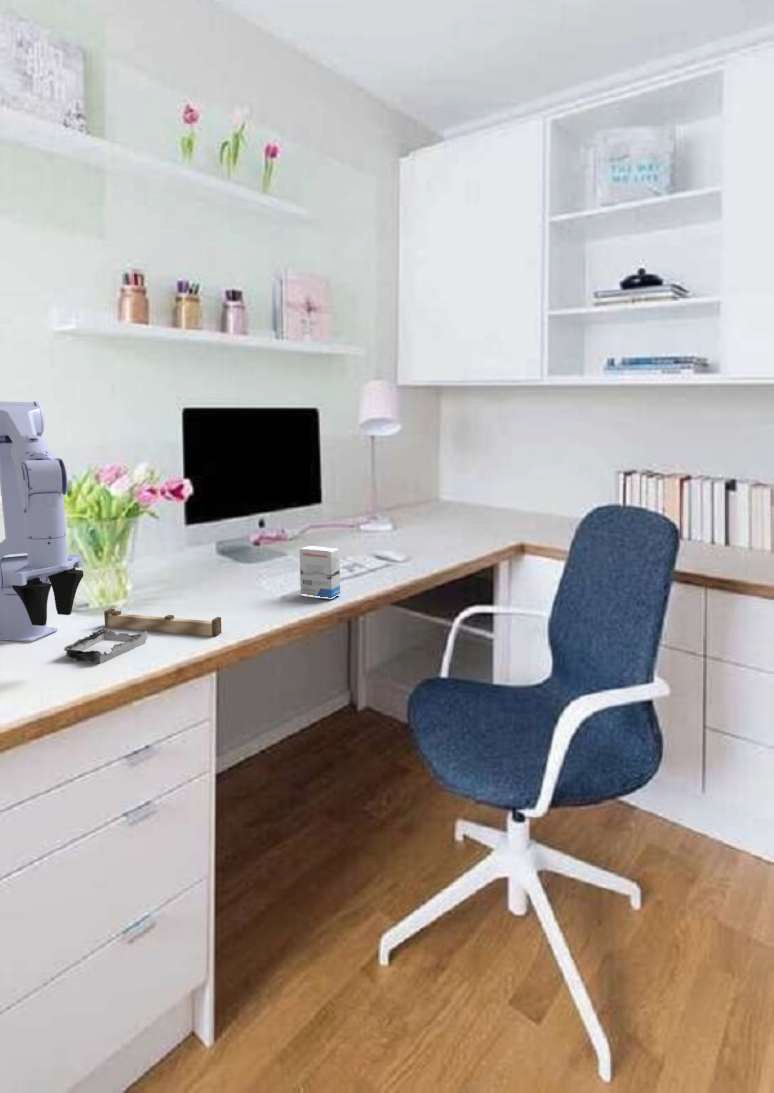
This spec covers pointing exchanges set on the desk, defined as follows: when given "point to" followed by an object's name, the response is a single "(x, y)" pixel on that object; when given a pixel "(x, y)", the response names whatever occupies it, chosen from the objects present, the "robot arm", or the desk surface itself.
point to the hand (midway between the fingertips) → (52, 619)
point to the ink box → (320, 571)
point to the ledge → (162, 623)
